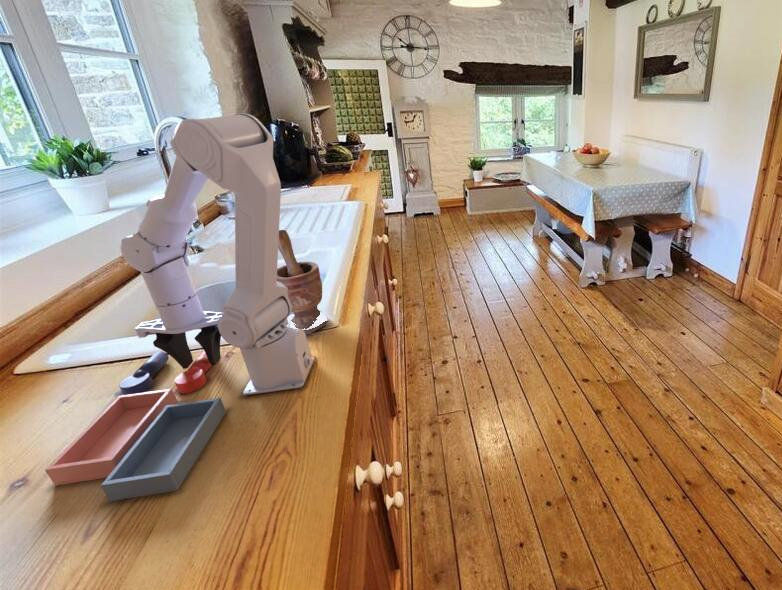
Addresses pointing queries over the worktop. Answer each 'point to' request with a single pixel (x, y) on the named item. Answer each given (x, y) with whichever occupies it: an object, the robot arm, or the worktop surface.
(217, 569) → the worktop surface
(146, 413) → the red bin
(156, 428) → the blue bin
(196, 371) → the red rubber stamp
